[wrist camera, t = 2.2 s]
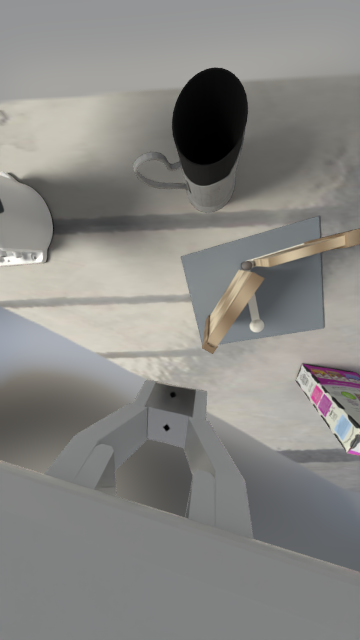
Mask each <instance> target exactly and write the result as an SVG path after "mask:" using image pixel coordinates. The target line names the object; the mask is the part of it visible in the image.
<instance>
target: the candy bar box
mask: <svg viewBox="0 0 360 640" xmlns="http://www.w3.org/2000/svg"><path fill="white" fill-rule="evenodd" d="M296 382H297V383H298V385H299V386H300V387H301V389H302V390H303V392H304V393H305V394H306V396H307V397H308V399H309V400H310V401H311V403H312V404H313V406H314V407H315V408H316V410H317V411H318V413H319V414H320V415H321V417H322V418H323V420H324V421H325V422H326V424H327V425H328V427H329V428H330V429H331V431H332V432H333V434H334V435H335V436H336V438H337V439H338V441H339V442H340V443H341V445H342V446H343V448H344V449H345V450H346V452H347V453H349V454H354V455H358V456H360V375H358V374H357V373H355V372H349V371H343V370H336V369H330V368H324V367H318V366H312V365H306V364H302V365H301V368H300V371H299V373H298V375H297V378H296Z"/></svg>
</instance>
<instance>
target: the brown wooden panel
mask: <svg viewBox="0 0 360 640" xmlns="http://www.w3.org/2000/svg"><path fill="white" fill-rule="evenodd" d="M264 279H265V278H263V277H261V276H259V275H257V274H256V273H254V272H247V271H243V270H238V272H237V274H236V275H235V277H234V278H233V280H232V281H231V283H230V285H229V286H228V288H227V289H226V291H225V293H224V294H223V296H222V297H221V299H220V301H219V302H218V304H217V305H216V307H215V309H214V310H213V312H212V313H211V315H210V316H208V317H207V319H206V321H205V329H204V337H203V345H202V348H203V349H205V350H206V351H208V352H210V353H212V354H213V353H214V351H215V350H216V348H217V347H218V344H219V343H220V342H221V340H222V339H223V337H224V336H225V334H226V333H227V332H228V330H229V329H230V327H231V326H232V324H233V323H234V322H235V320H236V319H237V317H238V316H239V314H240V313H241V311H242V310H243V309H244V307H245V306H246V304H247V303H248V301H249V300H250V299H251V297H252V296H253V294H254V293H255V291H256V290H257V289H258V287H259V286H260V284H261V283H262V281H263V280H264Z"/></svg>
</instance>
